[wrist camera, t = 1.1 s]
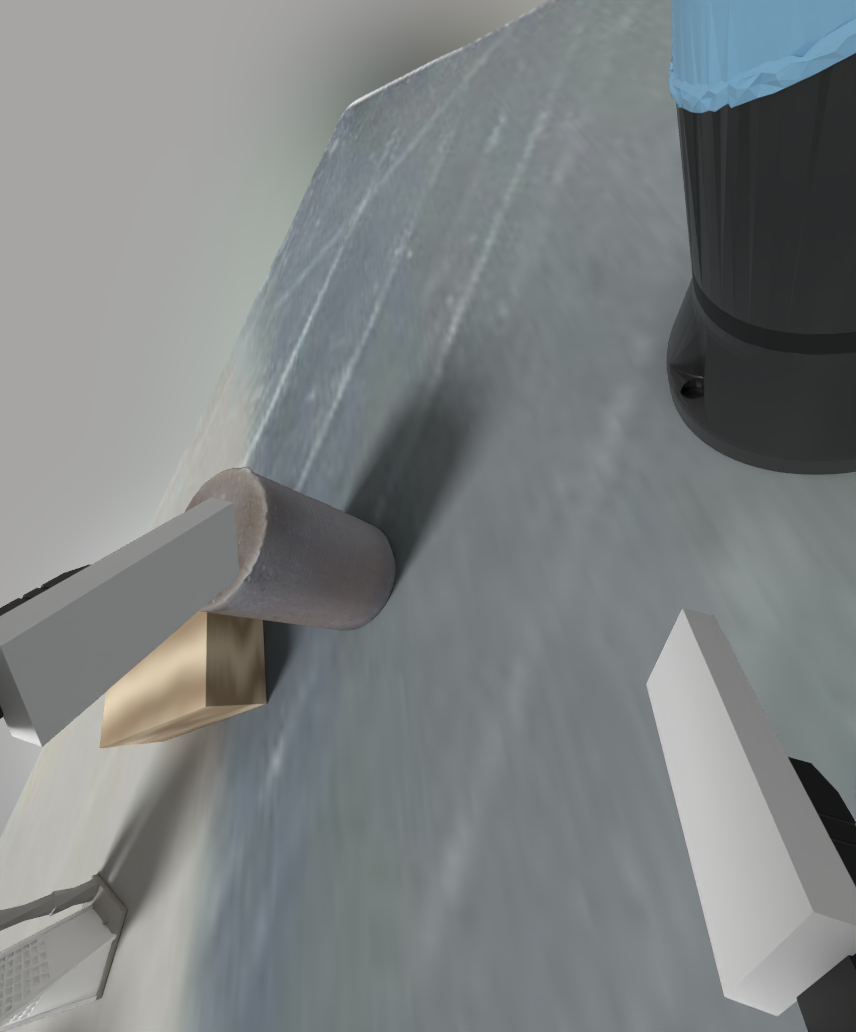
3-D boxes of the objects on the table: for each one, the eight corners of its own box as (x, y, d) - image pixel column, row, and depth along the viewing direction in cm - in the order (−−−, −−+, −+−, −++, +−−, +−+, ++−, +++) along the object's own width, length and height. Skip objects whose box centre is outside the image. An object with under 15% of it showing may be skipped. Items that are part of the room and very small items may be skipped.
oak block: (171, 597, 54) (117, 589, 50) (259, 546, 48) (208, 531, 43) (163, 741, 47) (99, 748, 42) (266, 703, 41) (205, 706, 36)
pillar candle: (300, 612, 42) (131, 586, 30) (334, 513, 43) (186, 451, 31) (376, 646, 36) (206, 632, 24) (412, 532, 38) (269, 465, 26)
